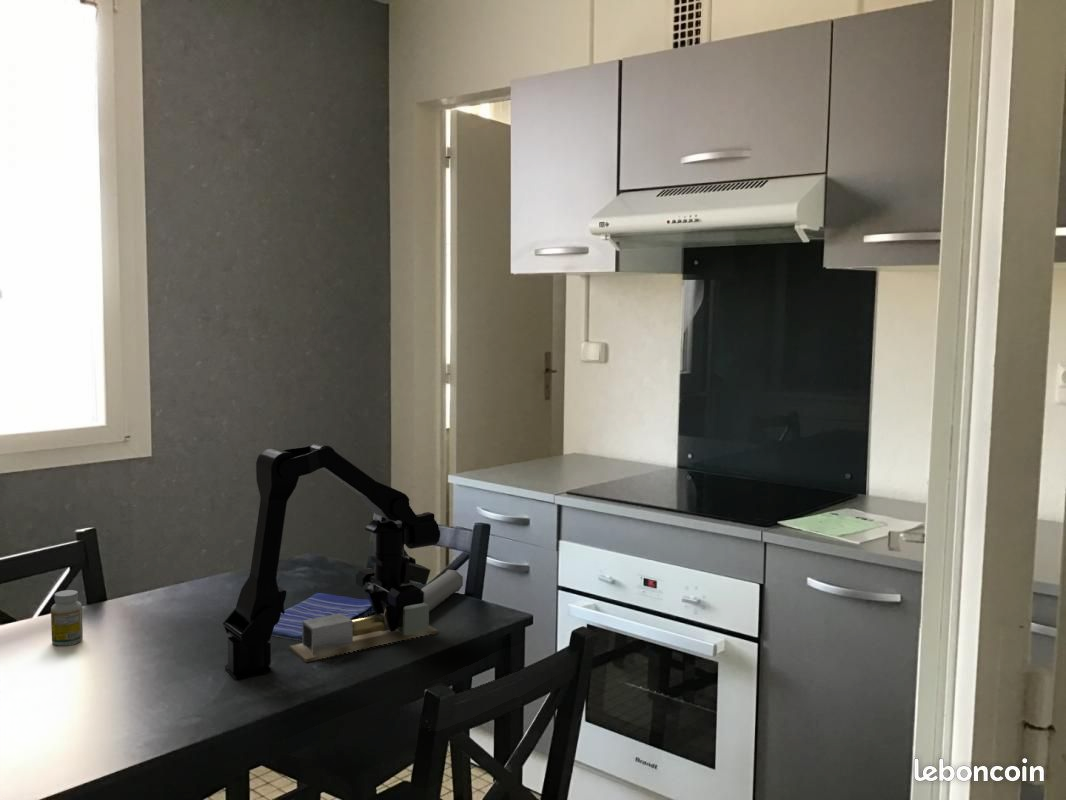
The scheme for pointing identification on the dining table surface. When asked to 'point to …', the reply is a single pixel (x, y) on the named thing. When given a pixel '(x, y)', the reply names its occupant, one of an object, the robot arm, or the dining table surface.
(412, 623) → the socket
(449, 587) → the tube
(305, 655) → the mounting board
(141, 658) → the dining table surface
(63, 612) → the supplement bottle
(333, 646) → the sleeve
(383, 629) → the tube
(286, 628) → the dish towel
